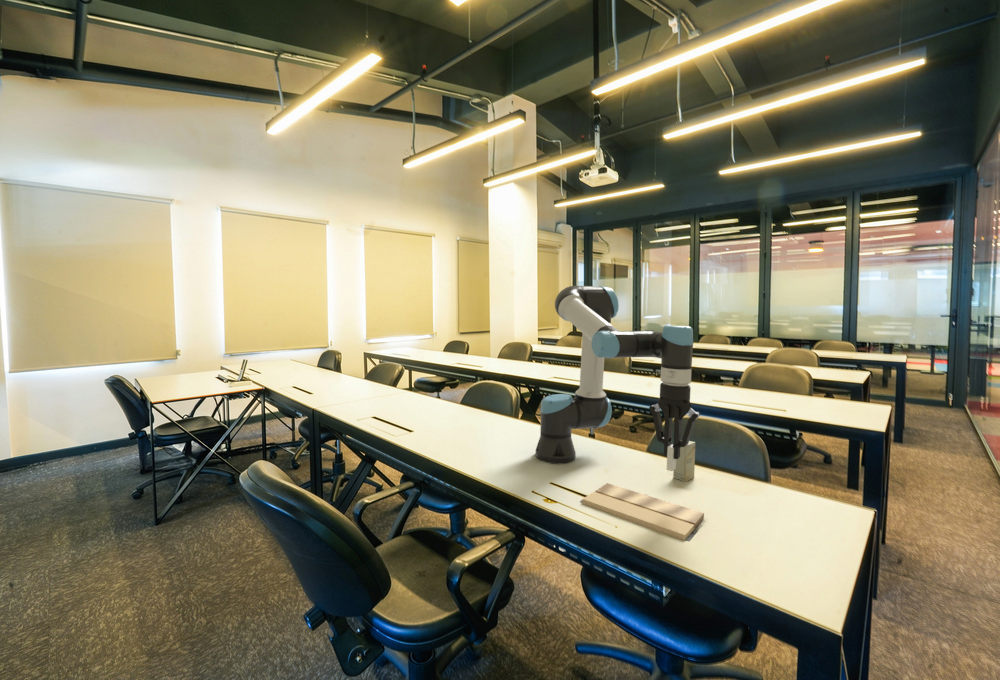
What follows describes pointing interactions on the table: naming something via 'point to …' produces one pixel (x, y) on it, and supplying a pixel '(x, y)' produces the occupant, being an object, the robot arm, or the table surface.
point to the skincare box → (685, 463)
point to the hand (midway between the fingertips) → (671, 469)
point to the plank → (652, 504)
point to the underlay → (641, 515)
